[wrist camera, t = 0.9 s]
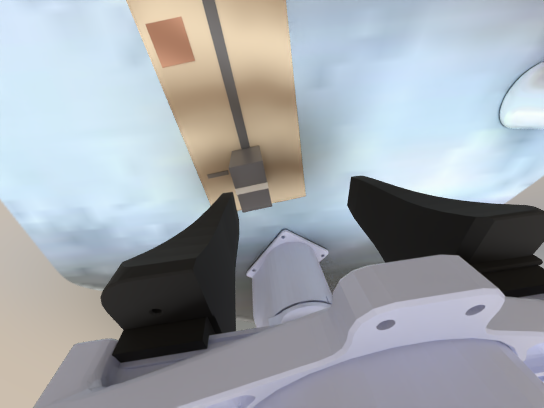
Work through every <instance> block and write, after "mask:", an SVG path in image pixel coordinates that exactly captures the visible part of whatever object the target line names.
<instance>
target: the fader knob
mask: <svg viewBox="0 0 544 408" xmlns="http://www.w3.org/2000/svg"><path fill="white" fill-rule="evenodd" d="M229 171H230V174H231V177H232V180H233V184H234V187H235V191H236V194H237V196H238V199H239V202H240V206H241V209H242V212H248V211H252V210H257V209H262V208H266V207H271V206H272V203H271V198H270V193H269V187H268V183H267V179H266V174H265V170H264V165H263V160H262V156H261V151H260V146H254V147H249V148H245V149H240V150H235V151H232V153H231V158H230V163H229Z"/></svg>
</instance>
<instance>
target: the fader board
mask: <svg viewBox="0 0 544 408" xmlns="http://www.w3.org/2000/svg"><path fill="white" fill-rule="evenodd" d="M126 1H127V4H128V6H129V8H130V11H131V13H132V16H133V18H134V20H135V23H136V25H137V28H138V30H139V33H140V35H141V37H142V40H143V42H144V45H145V47H146V49H147V52H148V54H149V57H150V59H151V62H152V64H153V66H154V69H155V71H156V74H157V76H158V79H159V81H160V83H161V86H162V88H163V91H164V93H165V95H166V98H167V100H168V103H169V105H170V108H171V110H172V112H173V115H174V117H175V120H176V122H177V124H178V127H179V129H180V132H181V134H182V137H183V139H184V141H185V144H186V146H187V149H188V151H189V154H190V156H191V158H192V161H193V163H194V166H195V168H196V170H197V173H198V175H199V178H200V180H201V183H202V185H203V187H204V190H205V192H206V195H207V197H208V200H209V202H210V204H211V206H212V204H213V203H214V202H215V201H216V200H217V199H218V198H219V197H220V195H221V194H222V193H228V192H233V194H234V199H235V204H236V208H237V211H239V210H242V209H241V206H240V202H239V199H238V196H237V194H236V191H235V187H234V184H233V180H232V177H231V174H230V171H229V163H230V158H231V153H232V151H235V150H240V149H245V148H249V147H254V146H260V151H261V156H262V160H263V165H264V170H265V174H266V179H267V183H268V187H269V193H270V198H271V203H276V202H281V201H286V200H290V199H295V198H300V197H304V196H306V194H305V184H304V174H303V165H302V155H301V145H300V135H299V125H298V116H297V106H296V96H295V86H294V76H293V66H292V57H291V47H290V37H289V27H288V17H287V8H286V0H126Z"/></svg>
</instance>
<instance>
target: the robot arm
mask: <svg viewBox="0 0 544 408" xmlns="http://www.w3.org/2000/svg"><path fill="white" fill-rule="evenodd" d="M347 206H348V208H349V210H350V212H351V214H352V215H353V217H354V219H355V220H356V221H357V223H358V224H359V225H360V227H361V228H362V229H363V231H364V232H365V233H366V235H367V236H368V237H369V239H370V240H371V241H372V242H373V244H374V245H375V247H376V248H377V250H378V251H379V253H380V254H381V256H382V258H383V260H384V261H385V263H381V264H374V265H368V266H365V267H361V268H358V269H355V270H352V271H351V272H350V273H348V274H347V275H346V276H344V277H343V278H341V279H340V281H339V282H338V284H337V286H336V288H335V290H334V292H333V296H332V294H331V291H330V289H329V286H328V284H327V281H326V279H325V276H324V274H323V271H322V269H321V266H320V264H319V262H320V261H321V260H322V259H323V258H324V257H325V256H326V255H328V250H327V249H325V248H323V247H321V246H319V245H316V244H314V243H312V242H310V241H308V240H306V239H304V238H302V237H300V236H298V235H296V234H294V233H292V232H290V231H288V230H283V231H282V232H281V233H280V234H279V235H278V236H277V238H276V239H275V240H274V241H273V242H272V243H271V245H270V246H269V247H268V248H267V249H266V250H265V252H264V253H263V254H262V255H261V256H260V257H259V258H258V260H257V261H256V262H255V263H254V264H253V265H252V267H251V268H250V269H249V270H248V271H247V276H248V277H251V278H252V294H253V317H254V321H255V324H256V327H257V328H252V329H246V330H241V331H236V317H235V267H236V257H237V249H238V240H239V218H238V213H237V208H236V204H235V199H234V194H233V192H228V193H222V194H221V195H220V197H219V198H218V199H217V200H216V201H215V202H214V203H213V204H212V206H211V207H210V208H209V209H208V210H207V211H206V212H205V213H204V214H203V215H202V216H201V217H200V218H199V219H197V220H196V221H195V222H194V223H193V224H191V225H190V226H189V227H187V228H186V229H185V230H183V231H182V232H180V233H179V234H177V235H176V236H174V237H173V238H171V239H170V240H168V241H166V242H164V243H163V244H161V245H159V246H157V247H155V248H153V249H151V250H149V251H147V252H145V253H143V254H140V255H138V256H136V257H134V258H131V259H129V260H127V261H124V262H122V264H121V265H120V266H119V268H118V269H117V271H116V272H115V274H114V275H113V277H112V278H111V280H110V281H109V283H108V284H107V286H106V287H105V289H104V290H103V292H102V295H101V302H102V306H103V307H104V309H105V310H106V311H107V313H108V314H109V315H110V316H111V317H112V318H113V319H114V320H115V321H116V322H117V323H118V324H119V326H120V327H121V328H122V329H123V330H124V331H123V332H122V335H121V337H120V339H119V341H118V340H116V339H101V340H95V341H88V342H83V343H77V344H75V345H73V347H72V348H71V350H70V351H69V353H68V355H67V356H66V358H65V359H64V361H63V362H62V364H61V365H60V367H59V368H58V370H57V372H56V373H55V375H54V376H53V378H52V379H51V381H50V382H49V384H48V385H47V387H46V389H45V390H44V392H43V393H42V395H41V396H40V398H39V399H38V401H37V402H36V404H35V406H34V407H33V408H544V269H543V268H542V267H540V266H538V265H541V264H542V263H543V262H542V260H541V259H539V258H538V257H536V256H535V255H533V254H534V253H535V251H536V250H537V249H538V248H539V247H540V246H541V244H542V243H543V242H544V211H543V210H541V209H539V208H536V207H533V206H528V205H510V204H491V203H480V202H470V201H461V200H455V199H448V198H442V197H436V196H432V195H427V194H423V193H418V192H414V191H411V190H407V189H404V188H400V187H397V186H394V185H391V184H388V183H385V182H382V181H379V180H376V179H373V178H369V177H365V176H354V177H351V182H350V189H349V196H348V204H347ZM281 236H284V237H281Z"/></svg>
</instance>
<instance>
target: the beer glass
mask: <svg viewBox="0 0 544 408" xmlns="http://www.w3.org/2000/svg"><path fill="white" fill-rule="evenodd" d="M500 120H501V123H502V124H503V125H504V126H505V127H508V128H511V129H544V62H542V63H540V64H538V65H536V66H534V67H532V68H531V69H530V70H528V71H527V72H526V73H524V74H523V75H522V76H521V77H520V78H519V79H518V80H517V81H516V82H515V83H514V84H513V86H512V87H511V88H510V90H509V91H508V93H507V94H506V96H505V98H504V100H503V102H502V105H501V109H500Z"/></svg>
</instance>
